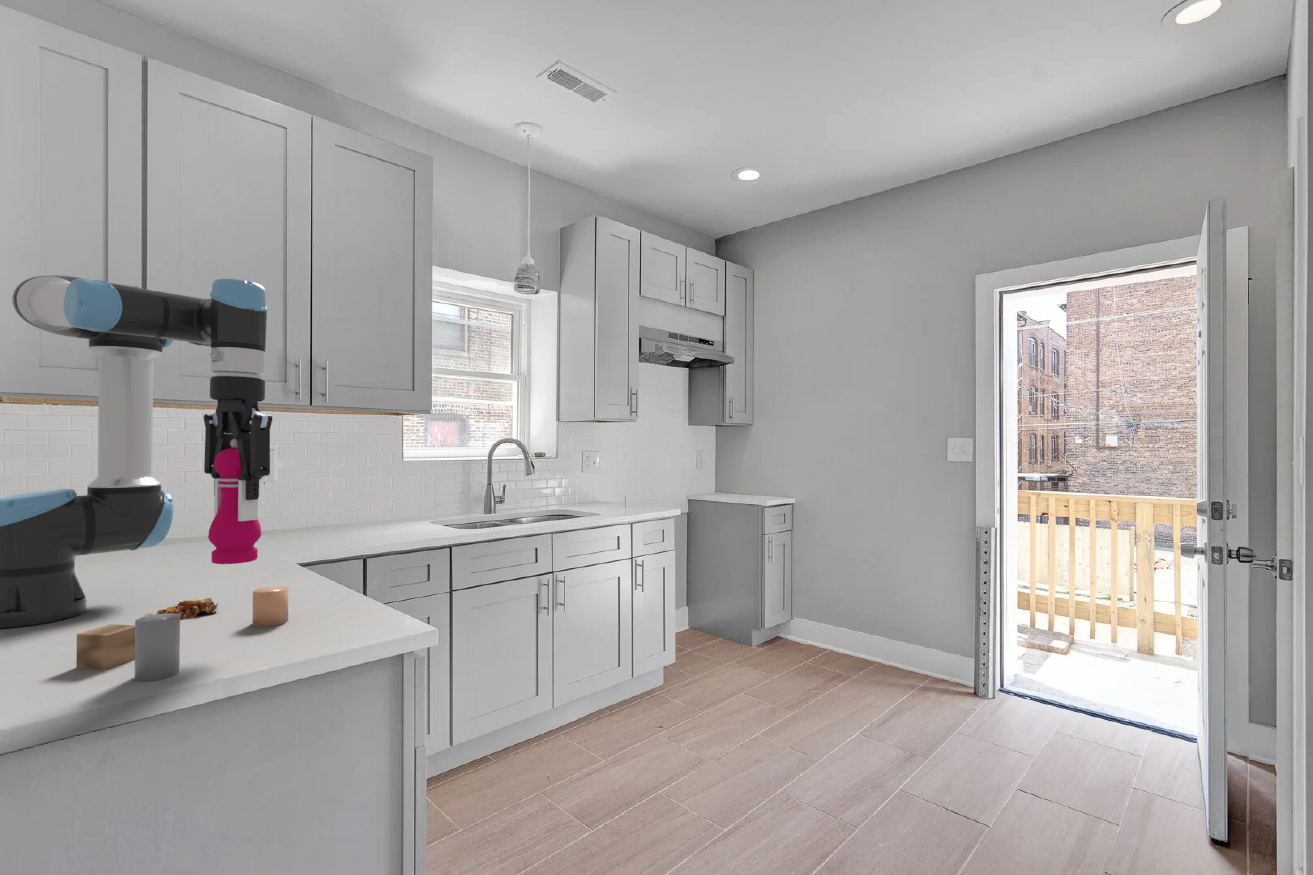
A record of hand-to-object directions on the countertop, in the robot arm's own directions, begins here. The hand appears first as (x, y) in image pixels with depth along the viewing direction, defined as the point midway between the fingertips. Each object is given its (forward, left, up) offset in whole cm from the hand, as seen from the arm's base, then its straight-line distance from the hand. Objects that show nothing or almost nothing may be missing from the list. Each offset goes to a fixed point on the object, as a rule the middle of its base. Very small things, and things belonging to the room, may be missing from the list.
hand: (235, 518), depth 103 cm
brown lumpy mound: (-26, +7, -21) cm, 34 cm away
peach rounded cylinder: (-7, +11, -21) cm, 24 cm away
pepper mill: (0, 0, -7) cm, 7 cm away
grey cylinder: (+3, -13, -21) cm, 25 cm away
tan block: (-9, -13, -21) cm, 26 cm away
